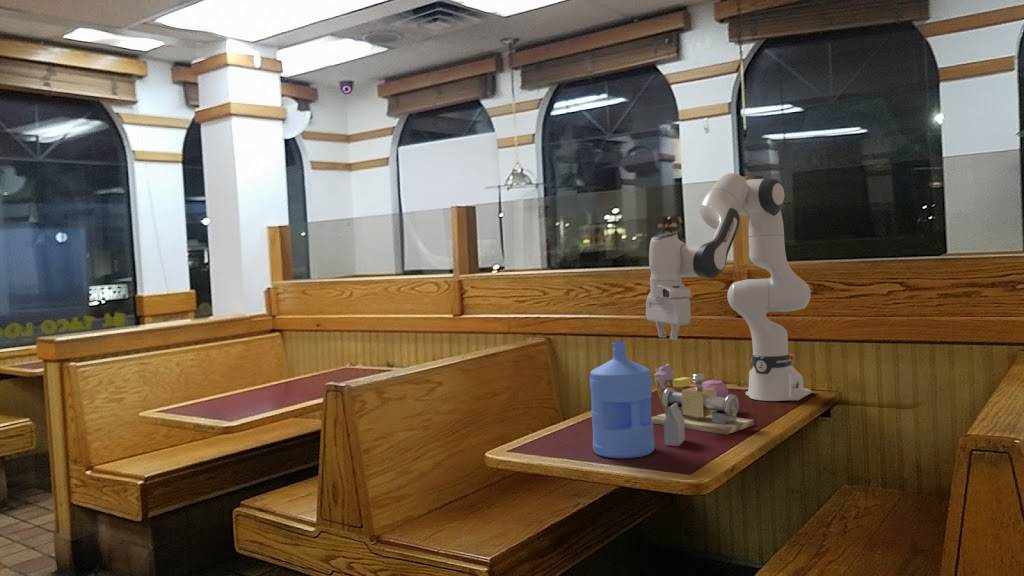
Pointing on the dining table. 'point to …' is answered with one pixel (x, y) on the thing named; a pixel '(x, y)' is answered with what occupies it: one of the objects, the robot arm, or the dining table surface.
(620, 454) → the water jug
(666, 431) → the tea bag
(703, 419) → the valve assembly
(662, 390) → the ice cream cone
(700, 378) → the lever
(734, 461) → the dining table surface
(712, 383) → the cupcake
